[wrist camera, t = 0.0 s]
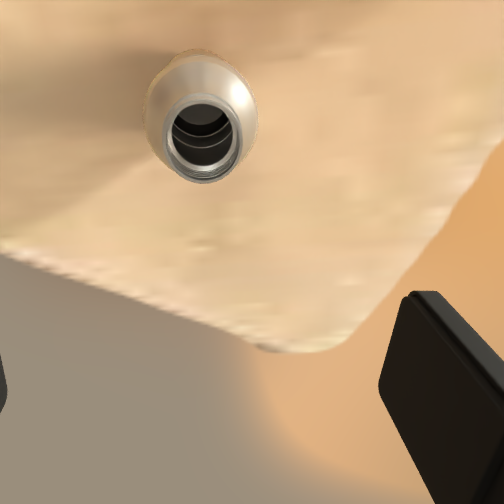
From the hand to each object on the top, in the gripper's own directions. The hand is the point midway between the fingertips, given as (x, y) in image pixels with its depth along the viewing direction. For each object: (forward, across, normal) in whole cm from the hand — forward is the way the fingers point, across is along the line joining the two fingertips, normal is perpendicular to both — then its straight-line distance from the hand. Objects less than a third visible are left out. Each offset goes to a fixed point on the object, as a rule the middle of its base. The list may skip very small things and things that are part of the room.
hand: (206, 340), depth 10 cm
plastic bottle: (+31, 0, -2) cm, 31 cm away
